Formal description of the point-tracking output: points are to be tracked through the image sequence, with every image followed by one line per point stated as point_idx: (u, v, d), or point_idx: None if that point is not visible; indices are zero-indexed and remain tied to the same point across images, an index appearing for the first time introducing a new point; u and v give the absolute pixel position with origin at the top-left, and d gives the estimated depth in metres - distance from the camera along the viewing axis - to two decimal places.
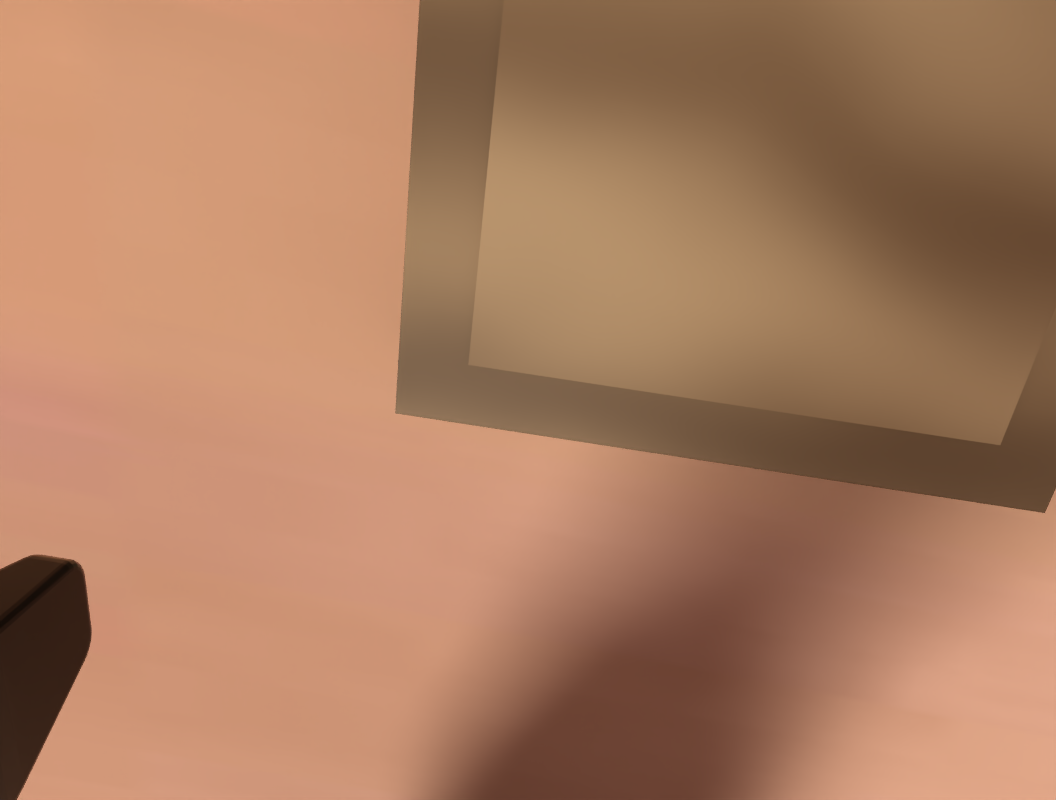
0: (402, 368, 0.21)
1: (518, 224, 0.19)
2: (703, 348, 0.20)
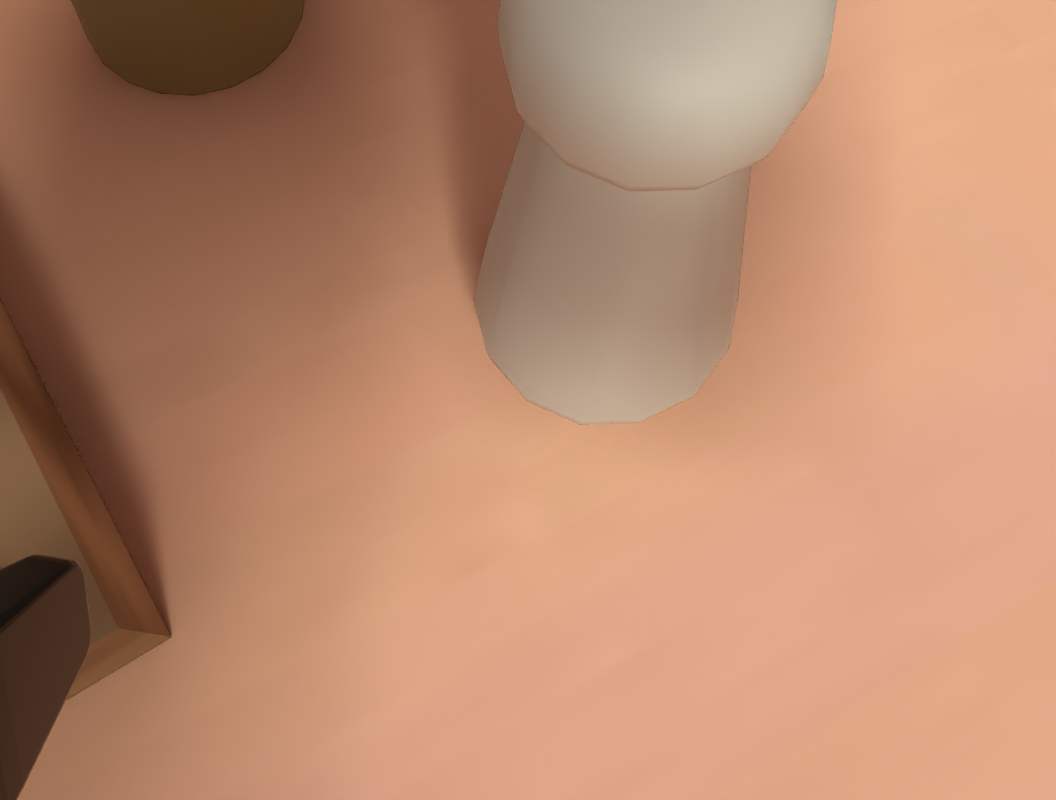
0: None
1: None
2: None
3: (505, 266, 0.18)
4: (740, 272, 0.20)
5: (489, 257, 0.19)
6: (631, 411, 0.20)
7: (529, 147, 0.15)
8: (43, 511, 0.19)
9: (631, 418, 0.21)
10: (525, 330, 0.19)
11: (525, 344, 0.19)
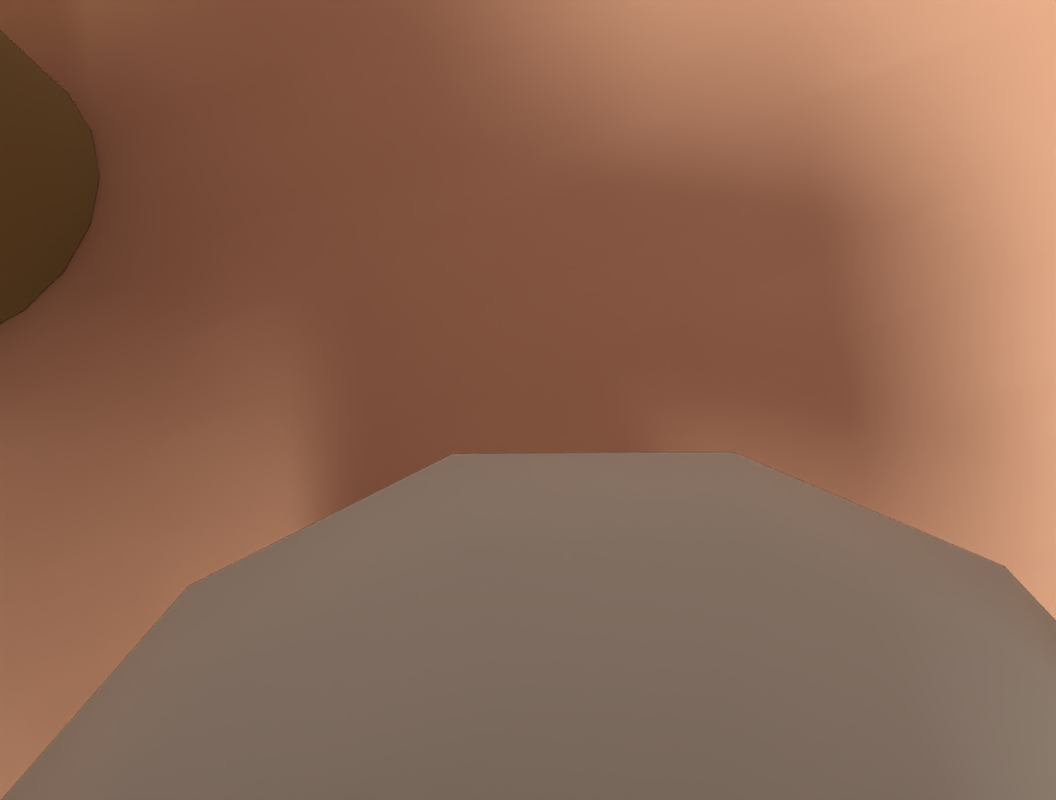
0: None
1: None
2: None
3: None
4: None
5: None
6: None
7: None
8: None
9: None
10: None
11: None
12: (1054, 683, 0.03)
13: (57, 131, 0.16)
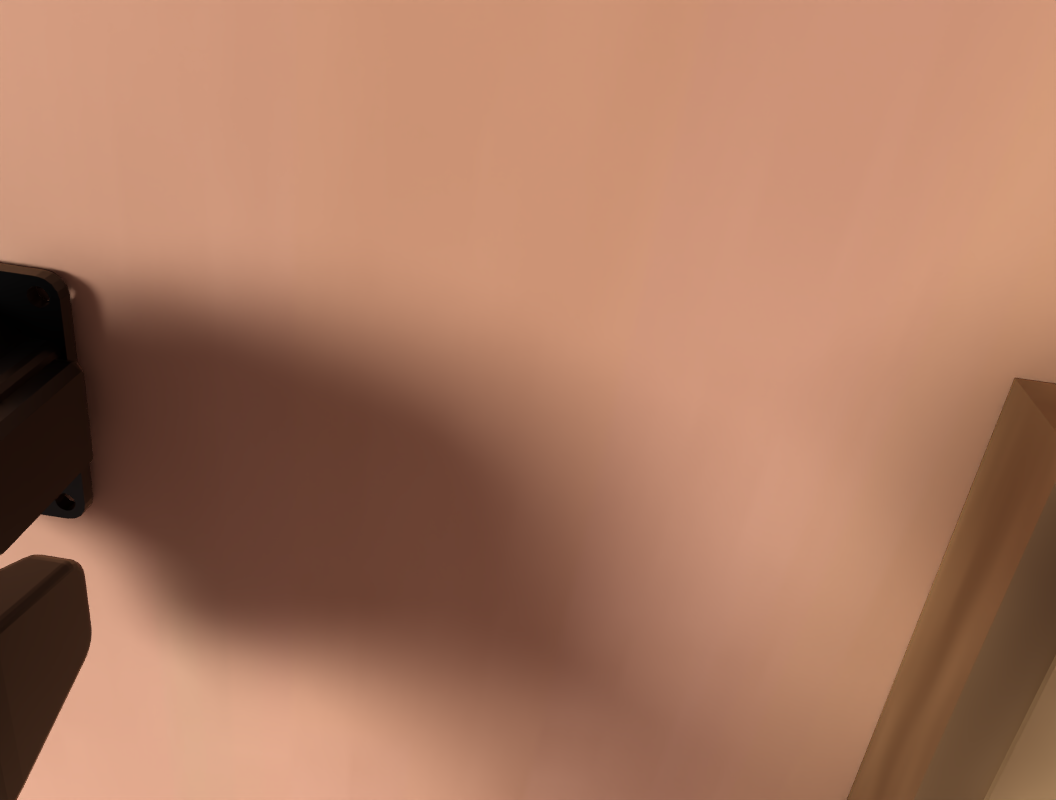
0: None
1: None
2: None
3: None
4: None
5: None
6: None
7: None
8: None
9: None
10: None
11: None
12: None
13: None
